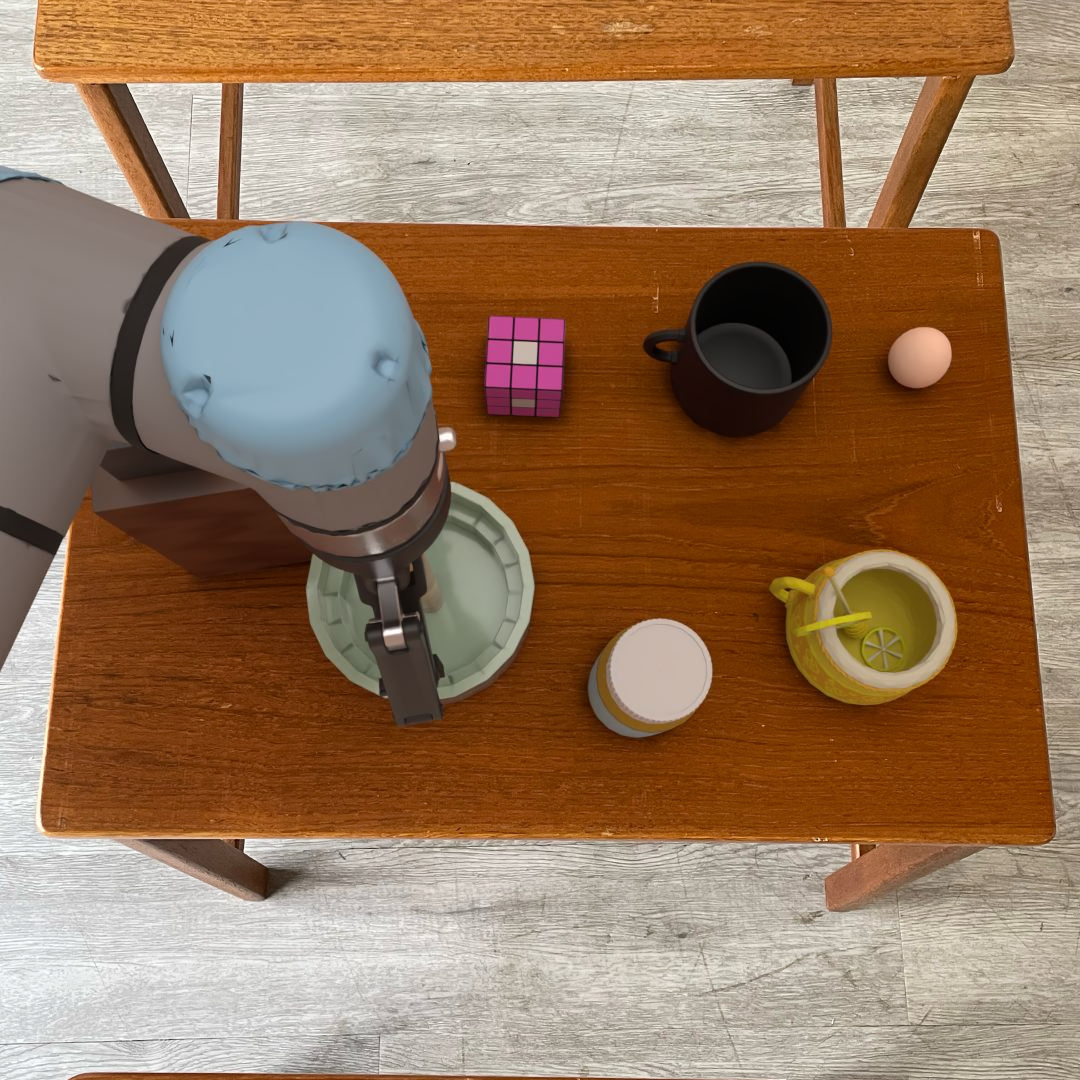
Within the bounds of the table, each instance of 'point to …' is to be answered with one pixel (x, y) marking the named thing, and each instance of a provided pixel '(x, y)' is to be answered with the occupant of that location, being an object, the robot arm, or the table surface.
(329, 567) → the bowl
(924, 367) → the egg
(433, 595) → the stirring stick
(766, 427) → the mug
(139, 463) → the utensil stand
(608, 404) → the table surface
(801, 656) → the mug
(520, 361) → the puzzle toy
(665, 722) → the bottle
